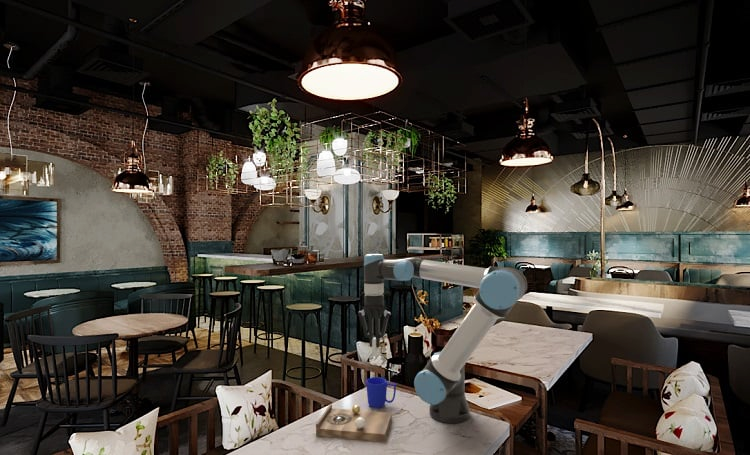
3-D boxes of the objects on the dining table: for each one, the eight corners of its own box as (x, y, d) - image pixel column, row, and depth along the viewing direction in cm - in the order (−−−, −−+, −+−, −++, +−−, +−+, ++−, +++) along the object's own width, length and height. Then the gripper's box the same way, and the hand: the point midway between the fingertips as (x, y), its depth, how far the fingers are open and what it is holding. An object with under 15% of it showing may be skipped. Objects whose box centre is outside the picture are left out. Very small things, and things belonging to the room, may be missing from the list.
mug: (394, 411, 156) (394, 385, 156) (364, 409, 158) (364, 383, 158) (397, 402, 164) (397, 378, 164) (368, 400, 166) (368, 376, 166)
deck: (391, 419, 149) (391, 408, 149) (384, 441, 133) (384, 429, 133) (330, 414, 154) (330, 404, 154) (316, 435, 138) (315, 424, 138)
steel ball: (339, 413, 146) (334, 419, 147) (337, 417, 143) (331, 423, 143) (346, 419, 146) (340, 425, 146) (343, 423, 143) (338, 430, 143)
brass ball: (360, 412, 150) (360, 404, 150) (359, 415, 147) (359, 407, 147) (353, 411, 151) (353, 403, 151) (351, 415, 148) (351, 407, 148)
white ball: (366, 426, 139) (366, 415, 139) (364, 430, 136) (363, 420, 136) (356, 425, 140) (356, 415, 140) (354, 430, 136) (353, 419, 137)
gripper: (392, 292, 157) (392, 353, 157) (359, 292, 160) (360, 351, 159) (389, 295, 150) (390, 359, 150) (355, 295, 152) (356, 357, 152)
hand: (374, 355), depth 155 cm, fingers closed
